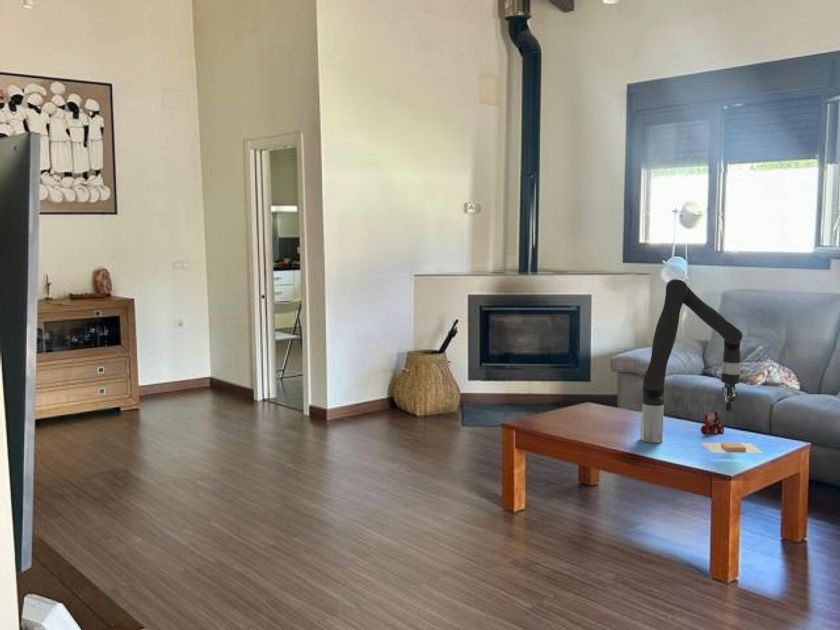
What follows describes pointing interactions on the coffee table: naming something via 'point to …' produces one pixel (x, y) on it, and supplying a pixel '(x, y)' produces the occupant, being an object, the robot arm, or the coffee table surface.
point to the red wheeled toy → (712, 424)
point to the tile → (733, 446)
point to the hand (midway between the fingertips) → (728, 410)
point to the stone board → (718, 449)
